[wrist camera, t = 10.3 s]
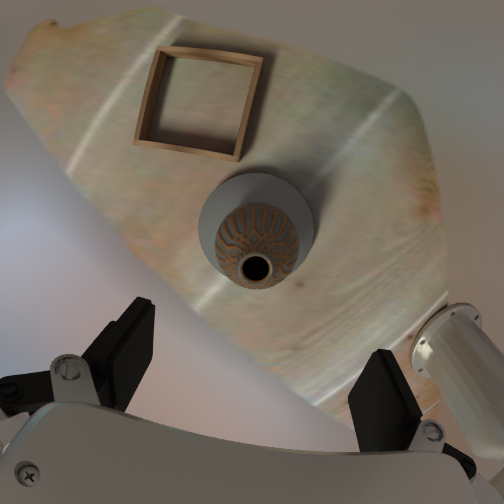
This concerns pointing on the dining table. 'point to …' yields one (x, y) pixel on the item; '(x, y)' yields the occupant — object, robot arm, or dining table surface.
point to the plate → (249, 191)
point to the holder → (153, 88)
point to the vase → (257, 245)
